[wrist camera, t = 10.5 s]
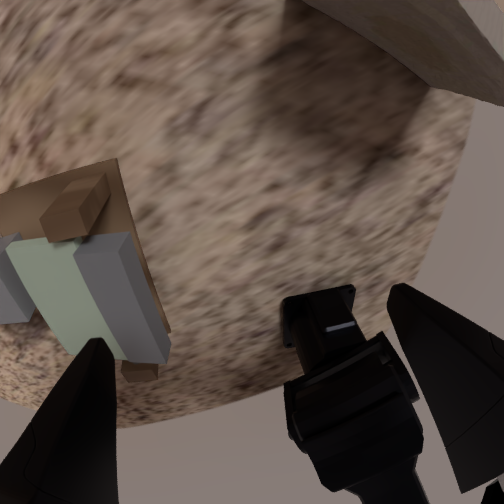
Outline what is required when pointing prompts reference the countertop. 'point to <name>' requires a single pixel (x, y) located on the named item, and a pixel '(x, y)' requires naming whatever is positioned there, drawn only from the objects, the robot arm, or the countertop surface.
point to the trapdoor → (93, 294)
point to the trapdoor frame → (79, 222)
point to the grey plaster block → (434, 39)
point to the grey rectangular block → (12, 288)
